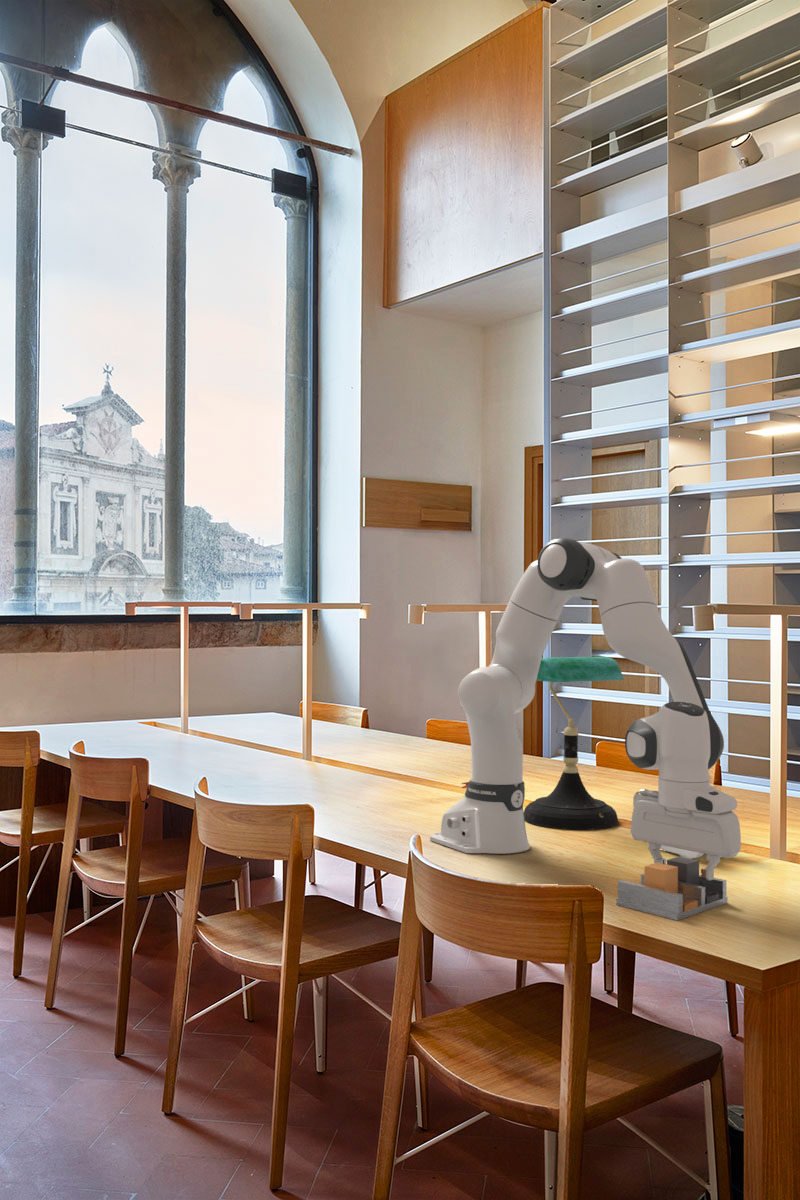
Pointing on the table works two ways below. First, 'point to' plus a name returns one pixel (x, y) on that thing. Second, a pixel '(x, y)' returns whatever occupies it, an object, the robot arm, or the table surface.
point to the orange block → (662, 877)
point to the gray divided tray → (673, 897)
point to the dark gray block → (686, 869)
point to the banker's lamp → (573, 754)
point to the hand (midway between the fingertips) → (683, 873)
